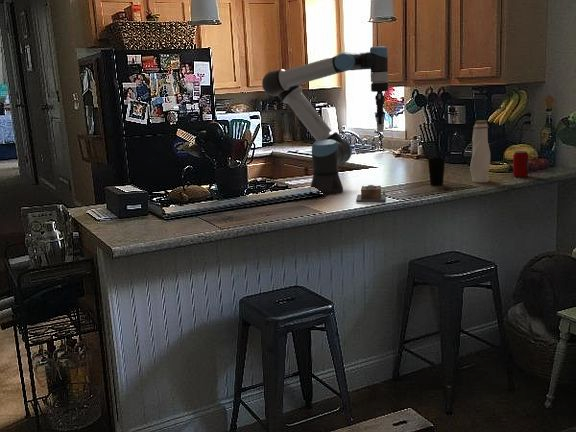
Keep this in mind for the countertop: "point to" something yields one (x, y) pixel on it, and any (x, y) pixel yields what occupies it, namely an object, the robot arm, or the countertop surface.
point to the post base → (383, 198)
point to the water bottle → (480, 152)
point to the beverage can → (520, 163)
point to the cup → (436, 171)
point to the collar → (371, 192)
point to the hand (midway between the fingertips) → (380, 130)
